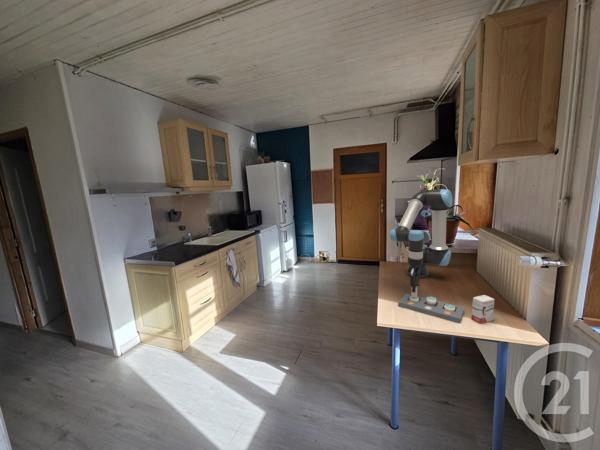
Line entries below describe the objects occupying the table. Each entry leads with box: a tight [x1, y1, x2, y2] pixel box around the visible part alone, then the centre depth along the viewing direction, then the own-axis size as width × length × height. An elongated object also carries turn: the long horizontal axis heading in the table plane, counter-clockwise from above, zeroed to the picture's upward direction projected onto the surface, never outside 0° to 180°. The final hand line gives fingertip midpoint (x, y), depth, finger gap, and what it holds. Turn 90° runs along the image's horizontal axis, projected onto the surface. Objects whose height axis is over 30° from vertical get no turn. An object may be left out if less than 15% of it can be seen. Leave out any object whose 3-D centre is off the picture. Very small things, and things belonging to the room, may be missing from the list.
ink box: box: [471, 294, 495, 324], centre depth 121 cm, size 9×5×12 cm, turn 106°
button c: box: [444, 303, 456, 312], centre depth 130 cm, size 5×5×4 cm
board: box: [397, 293, 465, 324], centre depth 135 cm, size 14×30×3 cm, turn 49°
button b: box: [426, 295, 437, 307], centre depth 136 cm, size 5×5×4 cm
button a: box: [410, 296, 419, 302], centre depth 142 cm, size 5×5×4 cm
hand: (414, 296), depth 142 cm, fingers closed
